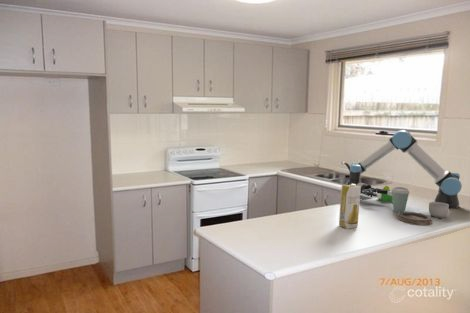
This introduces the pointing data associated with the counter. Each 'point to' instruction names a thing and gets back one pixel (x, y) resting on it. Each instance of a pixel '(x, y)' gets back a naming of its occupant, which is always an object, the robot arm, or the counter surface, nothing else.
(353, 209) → the juice carton
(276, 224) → the counter surface
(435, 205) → the teacup
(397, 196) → the disposable coffee cup
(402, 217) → the ring board
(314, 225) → the counter surface
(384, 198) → the fruit basket
